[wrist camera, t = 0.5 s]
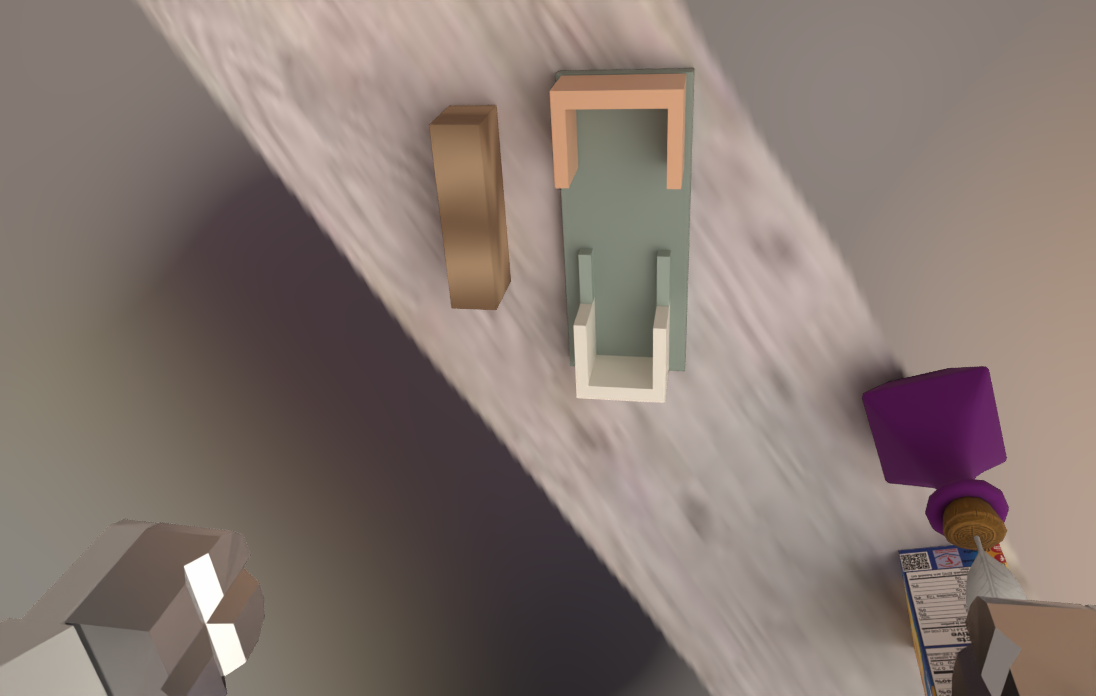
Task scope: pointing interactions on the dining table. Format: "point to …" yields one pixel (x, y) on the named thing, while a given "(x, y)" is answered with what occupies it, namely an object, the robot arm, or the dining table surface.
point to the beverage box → (939, 608)
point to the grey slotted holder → (626, 250)
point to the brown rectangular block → (471, 205)
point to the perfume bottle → (949, 461)
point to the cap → (616, 95)
